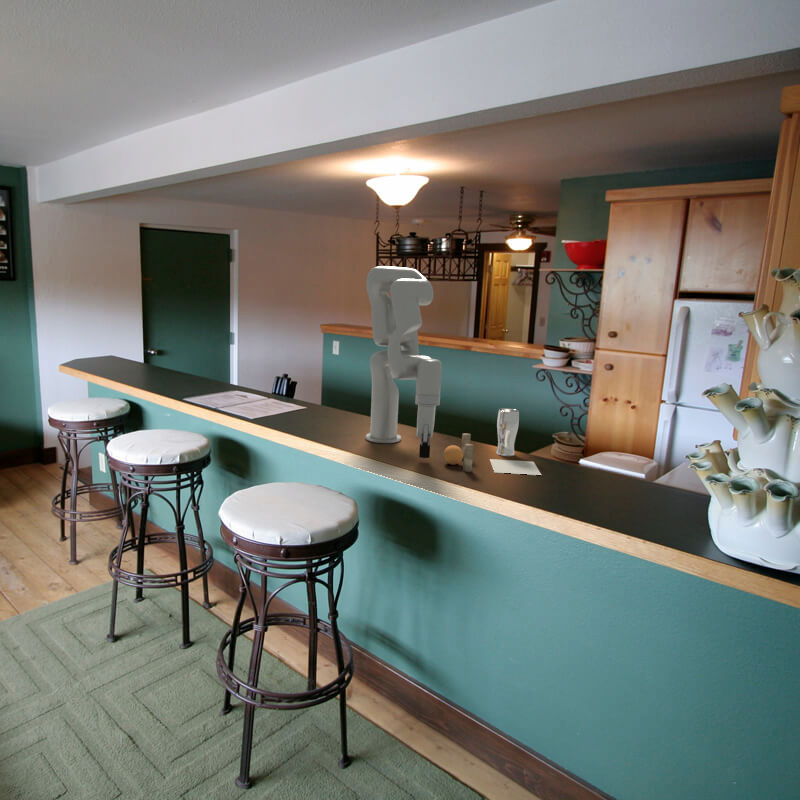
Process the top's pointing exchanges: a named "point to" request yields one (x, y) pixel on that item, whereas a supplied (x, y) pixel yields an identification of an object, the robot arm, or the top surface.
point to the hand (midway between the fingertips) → (424, 457)
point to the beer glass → (507, 431)
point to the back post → (465, 441)
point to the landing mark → (514, 467)
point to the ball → (453, 455)
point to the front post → (468, 458)
